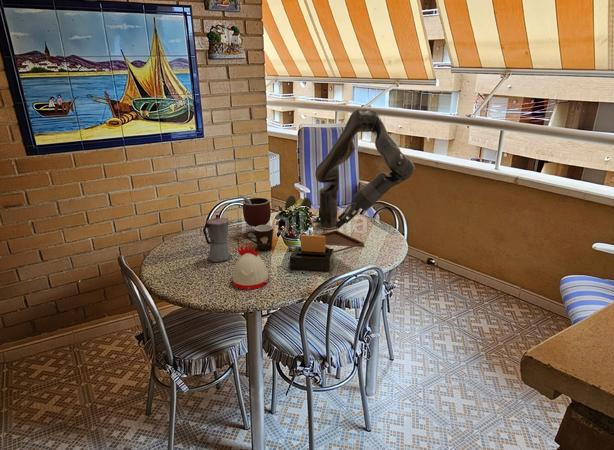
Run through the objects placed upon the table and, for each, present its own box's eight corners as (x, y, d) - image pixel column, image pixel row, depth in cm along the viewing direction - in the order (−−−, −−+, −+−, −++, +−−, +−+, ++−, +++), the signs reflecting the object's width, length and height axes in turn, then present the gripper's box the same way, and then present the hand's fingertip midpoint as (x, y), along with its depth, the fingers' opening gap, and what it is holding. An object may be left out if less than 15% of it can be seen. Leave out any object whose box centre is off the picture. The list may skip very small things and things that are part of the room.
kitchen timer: (238, 272, 165) (235, 238, 160) (271, 273, 164) (269, 238, 159) (228, 288, 152) (225, 252, 147) (264, 290, 151) (262, 252, 146)
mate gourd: (275, 229, 213) (273, 192, 206) (267, 239, 200) (264, 199, 193) (247, 227, 216) (244, 191, 209) (237, 237, 203) (234, 198, 197)
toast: (301, 262, 169) (300, 235, 165) (301, 261, 171) (301, 234, 167) (325, 264, 167) (324, 236, 163) (325, 262, 169) (325, 235, 165)
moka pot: (238, 254, 183) (234, 211, 177) (217, 267, 170) (213, 222, 163) (220, 251, 187) (216, 209, 180) (199, 264, 174) (194, 219, 167)
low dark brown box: (287, 272, 164) (286, 256, 162) (293, 261, 174) (293, 246, 172) (329, 275, 161) (329, 259, 158) (333, 264, 171) (333, 248, 168)
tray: (307, 241, 196) (307, 237, 195) (335, 233, 204) (335, 230, 204) (334, 255, 179) (334, 251, 178) (364, 246, 187) (364, 242, 187)
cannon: (291, 227, 215) (290, 206, 211) (272, 224, 220) (271, 204, 217) (313, 214, 236) (312, 195, 232) (295, 211, 241) (294, 192, 237)
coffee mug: (277, 245, 191) (276, 225, 188) (269, 252, 184) (268, 232, 180) (254, 243, 195) (253, 223, 192) (246, 250, 187) (244, 229, 184)
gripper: (362, 184, 161) (333, 210, 167) (360, 193, 148) (328, 222, 154) (375, 197, 162) (346, 223, 168) (374, 208, 149) (342, 235, 155)
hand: (338, 222), depth 161 cm, fingers open, 8 cm apart
